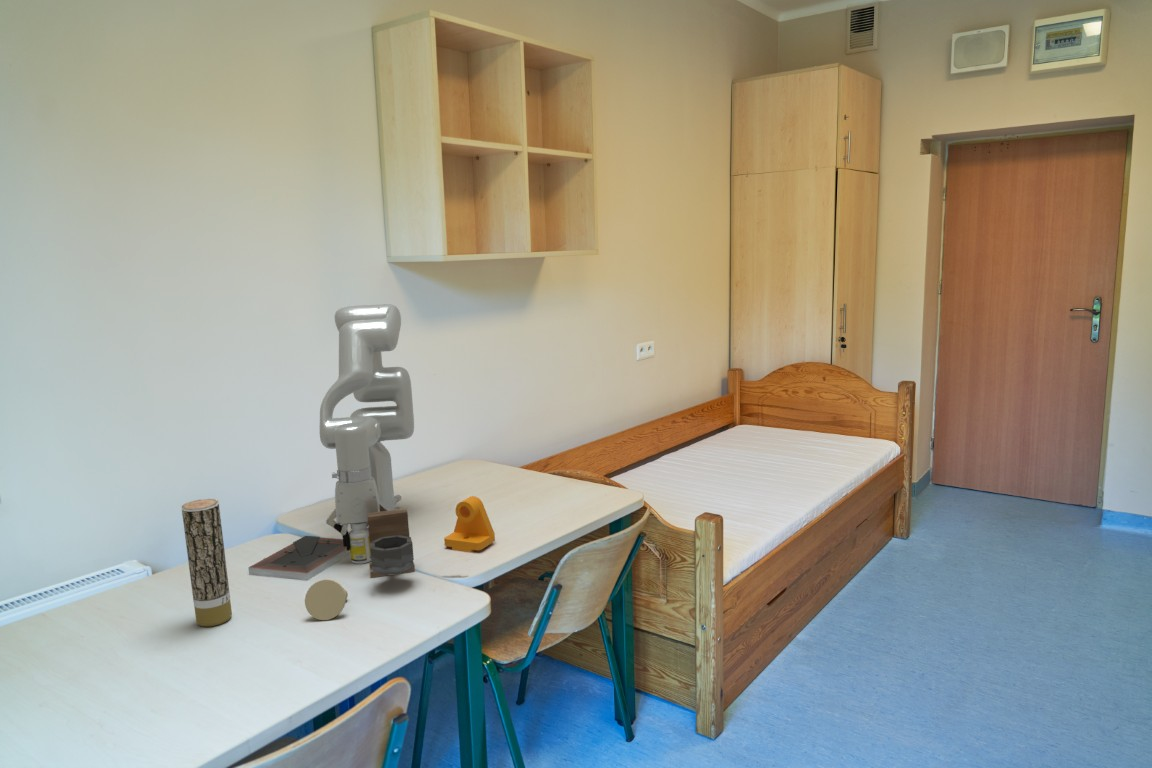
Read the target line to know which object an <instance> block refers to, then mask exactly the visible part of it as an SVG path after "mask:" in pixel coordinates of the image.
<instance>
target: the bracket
mask: <svg viewBox="0 0 1152 768" xmlns="http://www.w3.org/2000/svg"><path fill="white" fill-rule="evenodd" d="M485 508H486V507H485V506H484V504H483V501H482V500H481V499H480V497H477V496H474V495H472V496H469V497H467V498H466V499H464V500H462V501H460V502H459V503H457V504H456V507H455V514H456V515H455V516H457V519H456V523H455V525H454V526H455V527H454V530H453V532H451V533H449V534H448V535H447V536H445V537H443V539H444V547H449V548H451V550H452V551H457V552H464V553H473V552H474V551H482V550H483V549H485V548H486V547H488V546H489V545H491V544H493V543H494V542H495V541H496V535H495V534H496V533H495V531H494V529H493V526H492V523H491V521H490V518H489V516H488V514H487V511H486V509H485Z"/></svg>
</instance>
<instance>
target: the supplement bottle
mask: <svg viewBox="0 0 1152 768" xmlns="http://www.w3.org/2000/svg"><path fill="white" fill-rule="evenodd" d="M349 525H350V530H349V531H348V532H349V544H350V554H349V555H350V560H351V561H350V562H351V563H353V564H356V565H359V564H360V565H361V564H366V563H370V562H371V552H370V540H369V529H368V523H367V522H362V523H354V524H349Z"/></svg>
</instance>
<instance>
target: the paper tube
mask: <svg viewBox="0 0 1152 768" xmlns="http://www.w3.org/2000/svg"><path fill="white" fill-rule="evenodd" d="M181 514H182V521H183V529H184V538H185V545H186V553H187V560H188V561H187V562H188V569H189V576H190V577H189V578H190V583H191V593H192V599H193V601H192V602H193V607H194V613H195V621H196V623H197V625H198V626H201V627H215V626H219V625H222V624H225V623H226V622H228V621H229V620H230V619H231V617H232V615H233V614H232V613H233V612H232V605H231V604H232V602H231V594H230V585H229V578H228V569H227V560H226V553H225V552H226V551H225V545H224V544H225V543H224V536H223V528H222V519H221V510H220V503H219V500H218V499H216V498H203V499H197V500H193V501H189V502H186V503H184V504H182V505H181Z"/></svg>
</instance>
